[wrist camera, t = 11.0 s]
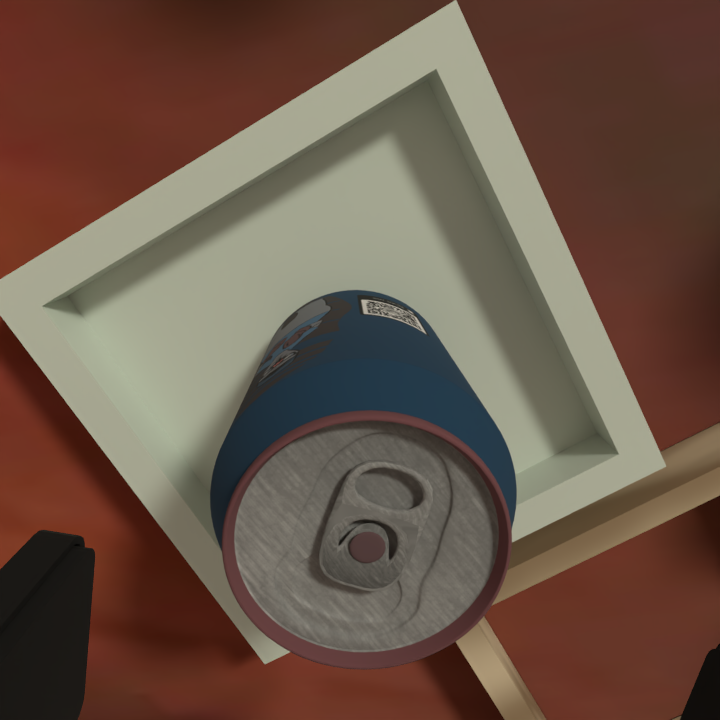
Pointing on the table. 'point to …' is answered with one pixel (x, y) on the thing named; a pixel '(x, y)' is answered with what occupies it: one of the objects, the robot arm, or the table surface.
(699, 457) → the oak frame
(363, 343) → the soda can
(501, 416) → the sage dish
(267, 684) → the table surface
